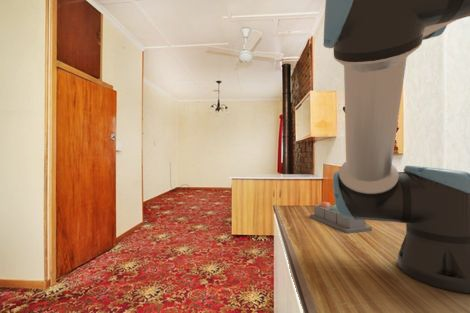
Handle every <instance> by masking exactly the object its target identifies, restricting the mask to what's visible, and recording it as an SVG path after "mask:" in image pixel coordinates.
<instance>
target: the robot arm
mask: <svg viewBox="0 0 470 313" xmlns="http://www.w3.org/2000/svg"><path fill="white" fill-rule="evenodd" d="M469 17H470V0H325V6H324V23H323V24H324V25H323V43H322V44H323V47H324V48H328V49H333V58H334V60H335V61H336V62H338V63H340V64H341V65H342V66H343V69H344V70H343V72H344V73H343V74H344V75H343V76H344V77H343V79H344V80H343V81H344V106H343V107H342V110H343V112H344V122H345V123H344V124H345V125H344V126H345V127H344V128H345V129H344V130H345V132H344V133H345V162H343V163H342V165H341V166H340V168H339V170H338V171H335V172H334V173H333V175H332V188H333V196H334V205H336V208H337V211H338V213H339V214H340V215H341V216H342V217H345V218H352V219H355V220H365V221H373V222H374V221H375V222H389V223H401V224H402V223H403V224H405V226H406V227H405V230H406V233H405V236H404V238H403V241H402V244H401V246H400V248H399V251H398V253H397V265H398V267H399V269H400V271H402V272H403V273H404V274H406V275H408V276H409V277H411V278H413V279H415V280H416V281H419V282H421V283H424V284H427V285H429V286H433V287H436V288H438V289H443V290H447V291H451V292H457V293H462V294H463V293H464V294H470V172H467V171H465V170H464V171H463V170H462V171H461V170H454V169H449V168H448V169H447V168H446V169H445V168H437V167H429V166H428V167H427V166H418V165H405V166H404V168H403V171H398V169H397V168H396V167H395V165H393V158H394V152H395V151H394V149H395V144H396V143H395V142H396V138H397V137H396V136H397V130H398V123H399V122H398V121H399V115H400V109H401V108H400V106H401V101H402V100H401V99H402V93H403V85H404V79H405V71H406V66H407V58H408V57H409V56H410V55H411V54H413V53H414V52H415V51H416V50H418V49H419V48H420V47H421V46H422V43H423V41H426V40H428V39H432V38H435V37H439V36H441V35H442V34H443V33H444V32H445V30H446V28H447V27H448V25H449V24H452V23H453V22H456V21H457V20H461V19H464V18H469Z"/></svg>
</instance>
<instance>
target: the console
mask: <svg viewBox="0 0 470 313" xmlns="http://www.w3.org/2000/svg"><path fill="white" fill-rule="evenodd" d="M313 209H314V210H313V211H314V212H313V213H314V214H313V213H312V214H309V218H310V219H313V220H315V221H318V222H320V223H323V224H325V225H327V226H329V227H332V228H333V229H336V230H338V231H341V232H343V233H346V234H353V233H363V232H369V231H372V230H373V227H371V226H370V225H366V220H355V219H352V218H345V217H342V216H341V215H340V214H339V213H338V212H335V211H332V205H331V204H330V207H329V208H323V207H321V204H316V205H313Z"/></svg>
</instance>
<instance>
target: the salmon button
mask: <svg viewBox="0 0 470 313" xmlns="http://www.w3.org/2000/svg"><path fill="white" fill-rule="evenodd" d="M320 205H321V207H323V208H329V207H330V205H331V202H329V201H321V202H320Z"/></svg>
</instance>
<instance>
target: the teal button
mask: <svg viewBox="0 0 470 313" xmlns="http://www.w3.org/2000/svg"><path fill="white" fill-rule="evenodd" d="M331 206H332V211H335V212H338V211H337V208H336V204H334V205H331Z"/></svg>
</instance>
